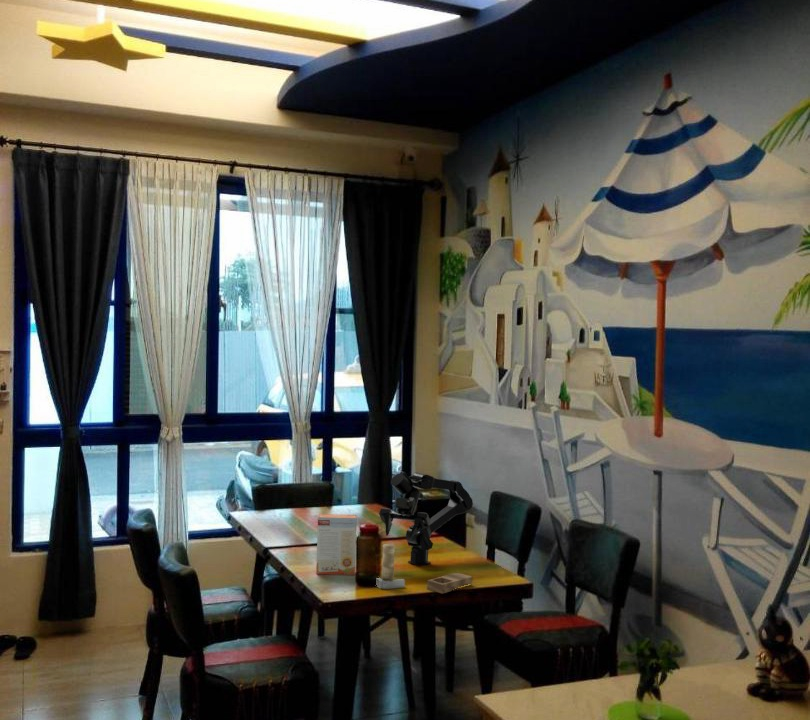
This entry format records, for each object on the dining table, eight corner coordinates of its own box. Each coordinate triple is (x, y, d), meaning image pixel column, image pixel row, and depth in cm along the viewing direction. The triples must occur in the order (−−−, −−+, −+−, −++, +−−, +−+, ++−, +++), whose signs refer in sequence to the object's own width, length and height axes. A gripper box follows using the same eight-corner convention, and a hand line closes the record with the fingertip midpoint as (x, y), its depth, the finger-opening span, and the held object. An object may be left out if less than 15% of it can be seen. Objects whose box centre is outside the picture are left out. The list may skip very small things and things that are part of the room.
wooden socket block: (456, 580, 307) (456, 572, 306) (471, 585, 302) (472, 576, 302) (426, 588, 295) (427, 580, 295) (442, 593, 290) (442, 584, 290)
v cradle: (372, 581, 301) (372, 574, 301) (405, 586, 297) (405, 579, 297) (365, 586, 295) (365, 579, 295) (398, 591, 291) (399, 584, 290)
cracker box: (355, 571, 314) (357, 514, 313) (354, 575, 308) (357, 517, 307) (316, 570, 313) (319, 513, 313) (315, 574, 307) (317, 516, 307)
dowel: (391, 583, 300) (393, 543, 300) (394, 586, 296) (395, 546, 296) (380, 583, 299) (382, 543, 299) (382, 587, 295) (384, 546, 295)
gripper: (381, 486, 320) (369, 521, 310) (429, 491, 314) (418, 527, 304) (388, 503, 328) (376, 538, 318) (434, 508, 321) (424, 544, 311)
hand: (398, 536), depth 312 cm, fingers open, 9 cm apart
